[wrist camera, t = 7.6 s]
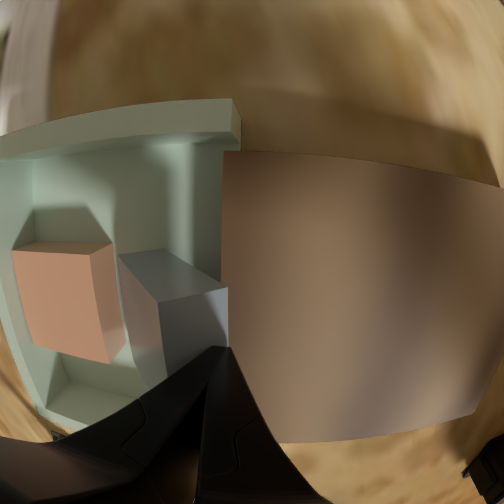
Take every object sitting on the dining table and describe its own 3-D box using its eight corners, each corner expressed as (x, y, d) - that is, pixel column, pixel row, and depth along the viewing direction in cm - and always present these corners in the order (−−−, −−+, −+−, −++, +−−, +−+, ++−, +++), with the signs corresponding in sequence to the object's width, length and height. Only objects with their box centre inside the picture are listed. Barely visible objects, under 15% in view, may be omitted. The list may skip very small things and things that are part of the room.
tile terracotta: (11, 250, 10) (36, 240, 12) (33, 344, 11) (53, 327, 13) (89, 254, 10) (113, 243, 12) (109, 364, 11) (126, 342, 13)
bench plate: (502, 193, 11) (540, 200, 8) (452, 385, 14) (473, 413, 11) (233, 157, 11) (223, 150, 8) (230, 399, 14) (224, 440, 11)
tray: (241, 120, 11) (232, 98, 7) (235, 417, 15) (228, 464, 11) (28, 144, 11) (-19, 143, 8) (65, 383, 15) (39, 415, 12)
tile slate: (228, 287, 8) (157, 302, 7) (230, 416, 9) (179, 436, 8) (163, 248, 12) (117, 254, 10) (172, 351, 13) (133, 361, 12)
